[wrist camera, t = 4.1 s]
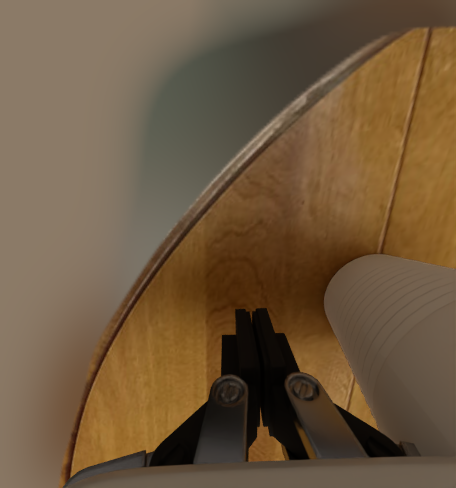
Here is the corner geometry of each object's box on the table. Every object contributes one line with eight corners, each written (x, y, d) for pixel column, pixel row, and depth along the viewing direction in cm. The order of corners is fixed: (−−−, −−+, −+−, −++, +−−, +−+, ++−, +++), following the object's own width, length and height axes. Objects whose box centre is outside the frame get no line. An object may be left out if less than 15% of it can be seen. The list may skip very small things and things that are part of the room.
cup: (394, 368, 17) (688, 685, 6) (273, 336, 16) (370, 640, 5) (468, 249, 14) (1156, 430, 4) (330, 203, 13) (720, 269, 3)
